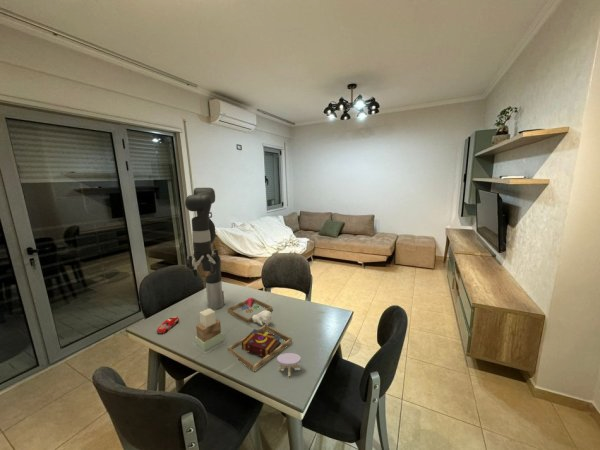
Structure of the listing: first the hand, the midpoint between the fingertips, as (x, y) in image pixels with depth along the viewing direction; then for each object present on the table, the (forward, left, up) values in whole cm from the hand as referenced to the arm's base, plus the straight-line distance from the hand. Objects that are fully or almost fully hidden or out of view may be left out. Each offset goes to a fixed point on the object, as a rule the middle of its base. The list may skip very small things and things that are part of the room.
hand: (204, 274), depth 112 cm
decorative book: (-14, +21, -36) cm, 44 cm away
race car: (+6, -31, -37) cm, 48 cm away
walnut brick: (0, 0, -31) cm, 31 cm away
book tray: (-14, +21, -36) cm, 44 cm away
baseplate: (0, 0, -36) cm, 36 cm away
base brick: (0, 0, -35) cm, 35 cm away
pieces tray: (-32, -9, -36) cm, 49 cm away
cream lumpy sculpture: (-27, +6, -36) cm, 46 cm away
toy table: (-12, +41, -36) cm, 56 cm away
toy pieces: (-35, -13, -37) cm, 52 cm away
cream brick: (0, 0, -25) cm, 25 cm away
